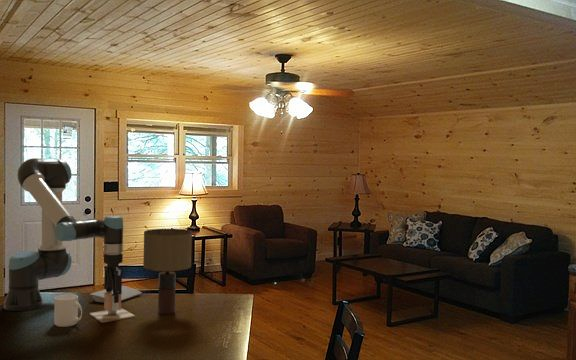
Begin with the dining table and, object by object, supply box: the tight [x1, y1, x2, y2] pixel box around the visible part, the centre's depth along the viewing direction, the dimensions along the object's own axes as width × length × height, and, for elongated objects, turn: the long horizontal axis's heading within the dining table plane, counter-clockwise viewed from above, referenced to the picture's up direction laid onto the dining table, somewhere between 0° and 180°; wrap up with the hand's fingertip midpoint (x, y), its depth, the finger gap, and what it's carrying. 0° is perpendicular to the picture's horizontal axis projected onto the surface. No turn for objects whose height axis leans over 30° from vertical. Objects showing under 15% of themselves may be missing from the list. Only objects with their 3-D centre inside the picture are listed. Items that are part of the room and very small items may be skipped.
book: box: [89, 285, 143, 303], centre depth 254 cm, size 15×23×4 cm, turn 158°
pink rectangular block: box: [103, 291, 122, 312], centre depth 225 cm, size 5×5×7 cm
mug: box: [53, 293, 83, 328], centre depth 212 cm, size 9×12×11 cm
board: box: [89, 307, 136, 324], centre depth 225 cm, size 14×14×1 cm
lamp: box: [142, 228, 193, 315], centre depth 232 cm, size 20×20×35 cm
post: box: [108, 310, 117, 316], centre depth 225 cm, size 3×3×7 cm
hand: (112, 308), depth 225 cm, fingers closed on pink rectangular block, 5 cm apart
